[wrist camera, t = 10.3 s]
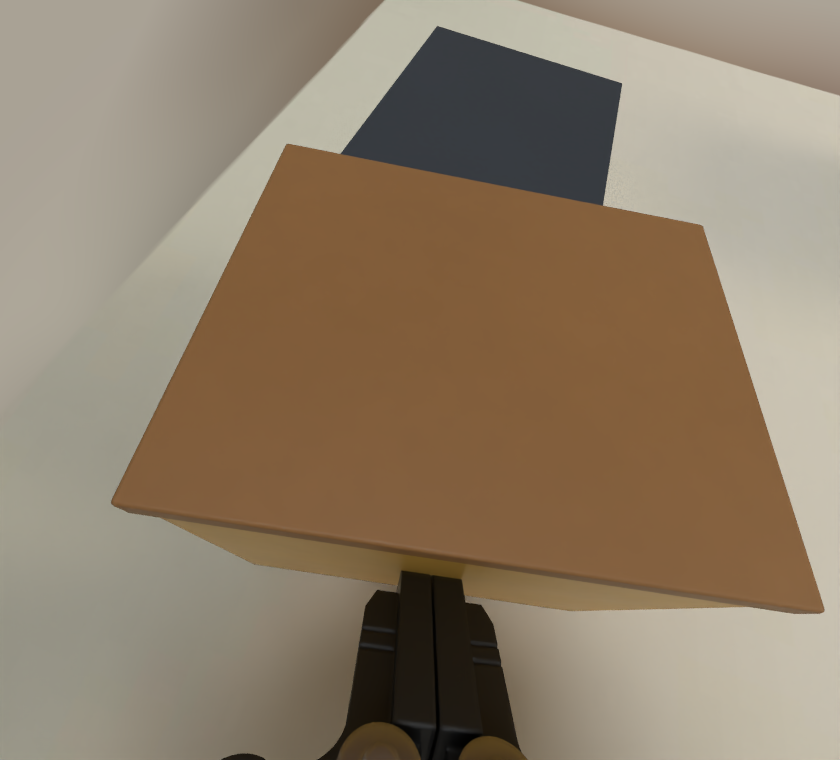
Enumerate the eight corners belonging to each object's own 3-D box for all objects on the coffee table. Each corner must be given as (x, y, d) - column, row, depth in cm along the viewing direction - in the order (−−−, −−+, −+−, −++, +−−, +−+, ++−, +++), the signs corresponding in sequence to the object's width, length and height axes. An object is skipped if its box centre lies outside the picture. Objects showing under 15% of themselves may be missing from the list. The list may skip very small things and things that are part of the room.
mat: (325, 176, 24) (325, 174, 24) (437, 28, 35) (437, 26, 35) (592, 265, 23) (593, 263, 23) (621, 85, 34) (622, 83, 34)
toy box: (575, 615, 14) (828, 614, 7) (248, 566, 14) (106, 504, 6) (562, 384, 19) (703, 224, 11) (316, 341, 18) (286, 142, 11)
